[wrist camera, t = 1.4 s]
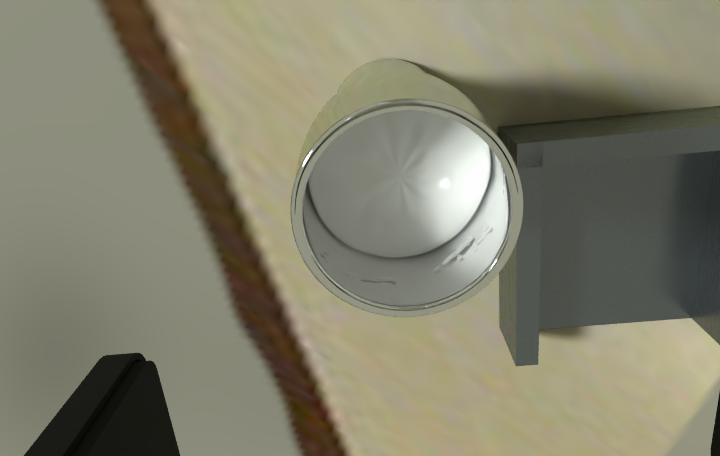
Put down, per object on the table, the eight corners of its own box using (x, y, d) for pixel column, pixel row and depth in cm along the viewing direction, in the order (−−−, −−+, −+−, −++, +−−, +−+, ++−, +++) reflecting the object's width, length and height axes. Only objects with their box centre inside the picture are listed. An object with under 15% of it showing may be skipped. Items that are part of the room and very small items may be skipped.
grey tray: (498, 126, 30) (517, 144, 26) (737, 104, 29) (791, 118, 25) (499, 327, 34) (516, 366, 30) (706, 311, 34) (748, 348, 30)
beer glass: (478, 88, 29) (582, 163, 15) (414, 201, 31) (452, 358, 17) (359, 24, 28) (349, 41, 14) (301, 146, 30) (244, 266, 16)
